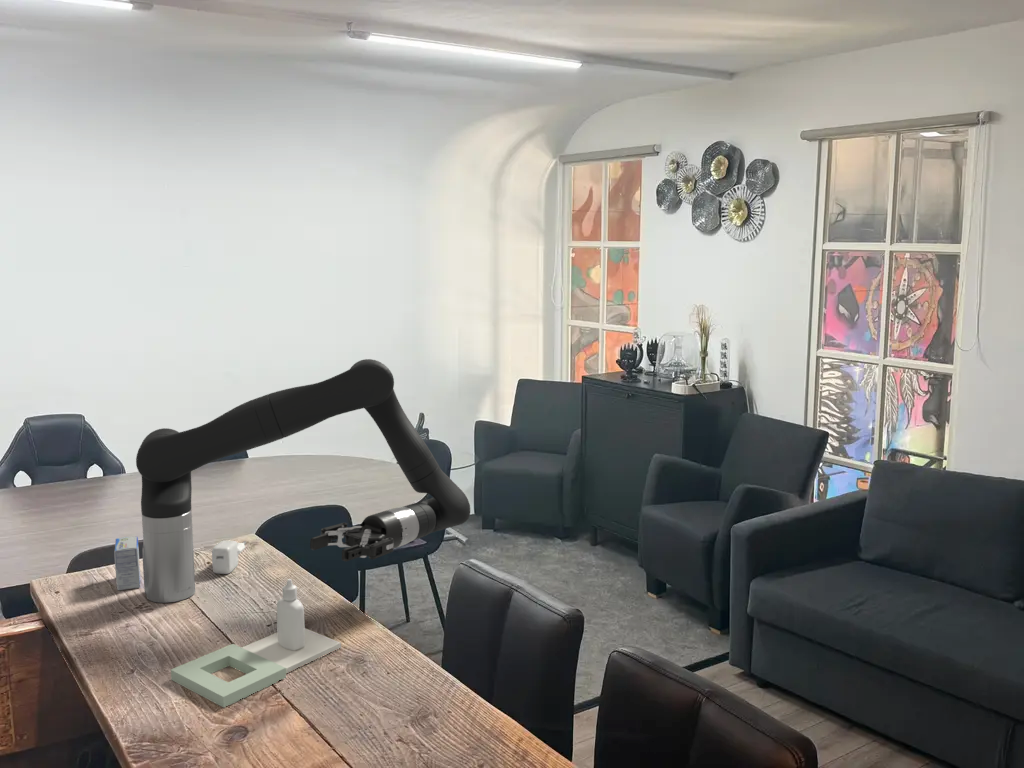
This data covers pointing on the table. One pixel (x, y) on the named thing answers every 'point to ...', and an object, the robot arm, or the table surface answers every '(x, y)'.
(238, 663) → the holder
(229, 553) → the power adapter
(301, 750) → the table surface
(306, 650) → the tile
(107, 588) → the table surface
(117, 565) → the medicine box
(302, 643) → the eye dropper bottle
